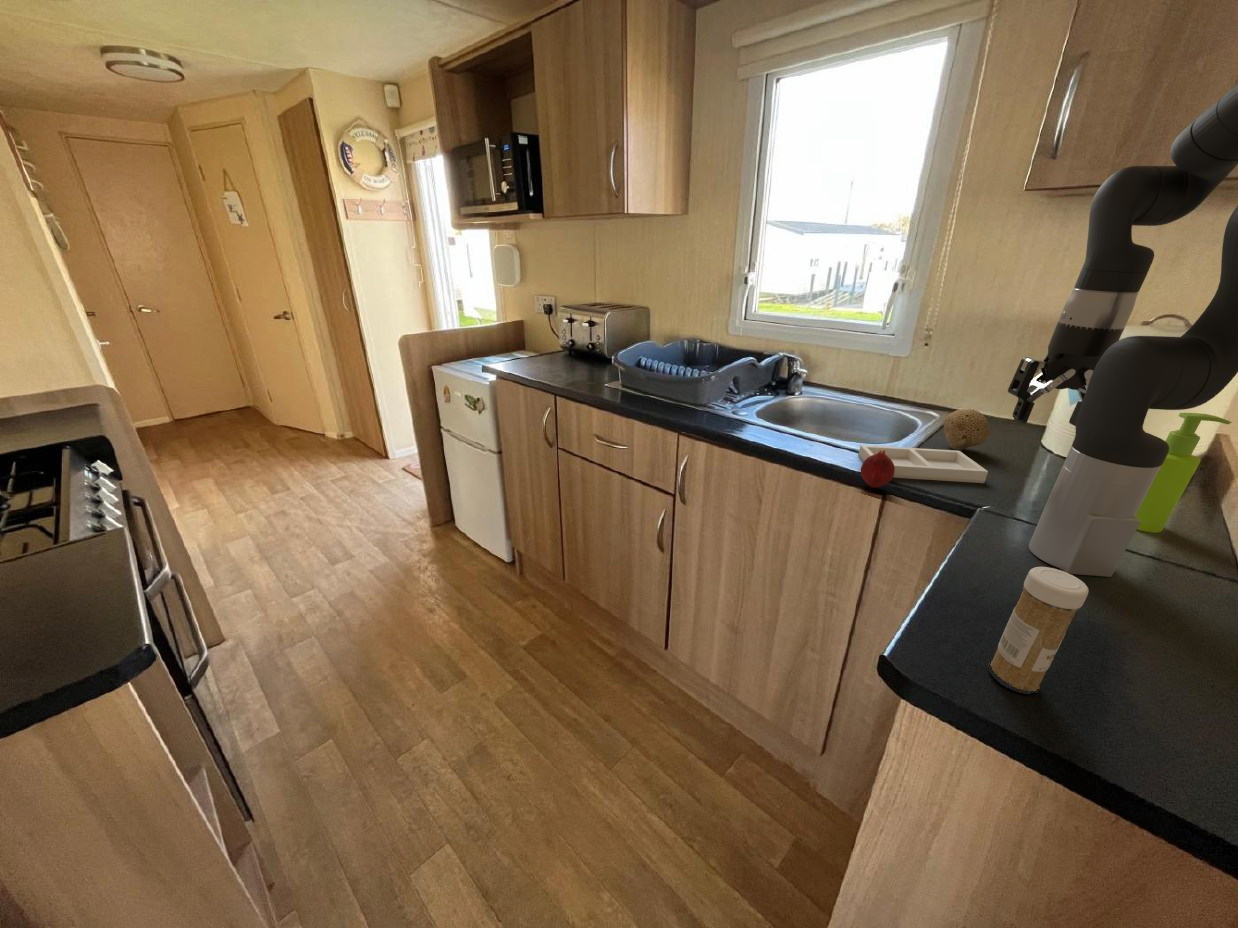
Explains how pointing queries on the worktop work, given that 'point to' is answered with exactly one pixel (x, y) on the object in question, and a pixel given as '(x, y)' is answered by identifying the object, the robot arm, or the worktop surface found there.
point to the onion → (877, 469)
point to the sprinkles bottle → (1037, 626)
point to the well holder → (929, 464)
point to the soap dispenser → (1173, 473)
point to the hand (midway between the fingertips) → (1047, 423)
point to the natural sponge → (965, 429)
